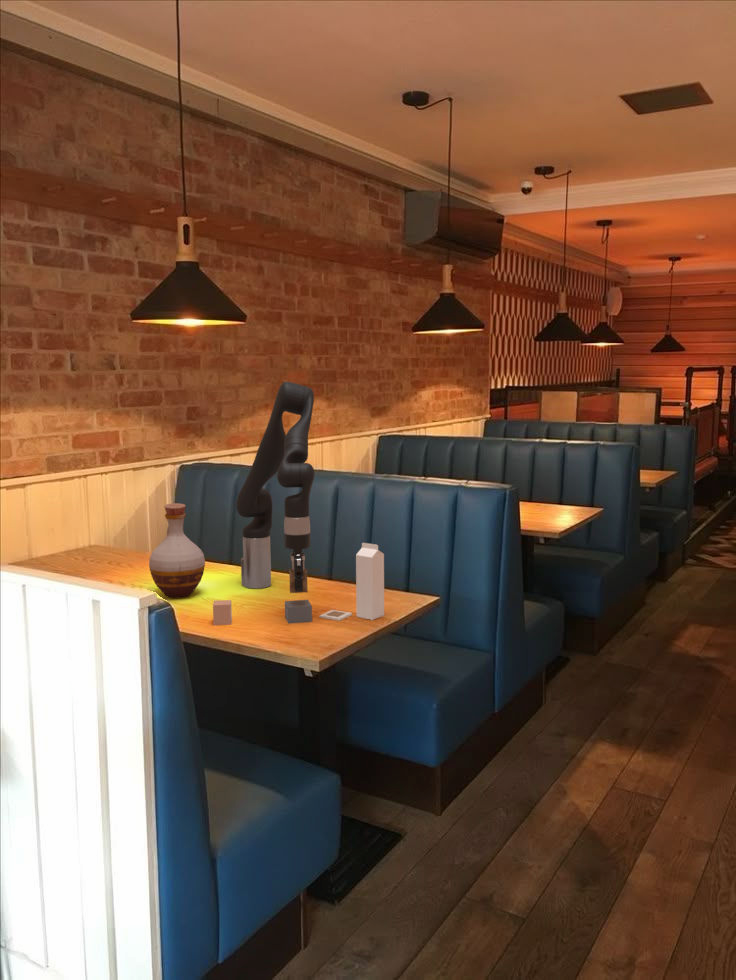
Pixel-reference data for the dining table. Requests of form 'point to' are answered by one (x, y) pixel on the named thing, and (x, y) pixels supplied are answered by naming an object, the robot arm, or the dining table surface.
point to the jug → (176, 558)
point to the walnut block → (292, 581)
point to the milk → (369, 582)
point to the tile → (335, 615)
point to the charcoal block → (298, 611)
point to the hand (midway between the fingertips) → (298, 588)
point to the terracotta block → (222, 612)
